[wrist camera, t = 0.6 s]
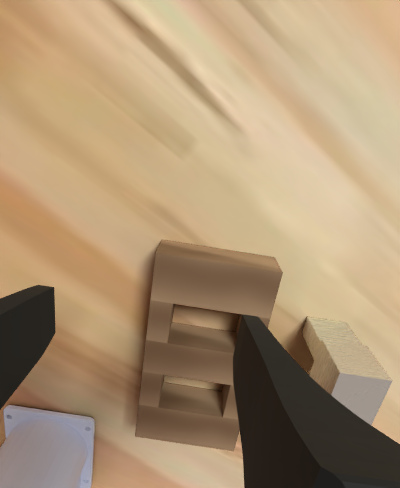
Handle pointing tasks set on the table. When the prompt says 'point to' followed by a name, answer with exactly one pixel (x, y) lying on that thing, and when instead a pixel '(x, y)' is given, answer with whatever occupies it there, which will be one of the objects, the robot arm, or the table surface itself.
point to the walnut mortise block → (199, 341)
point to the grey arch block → (346, 367)
